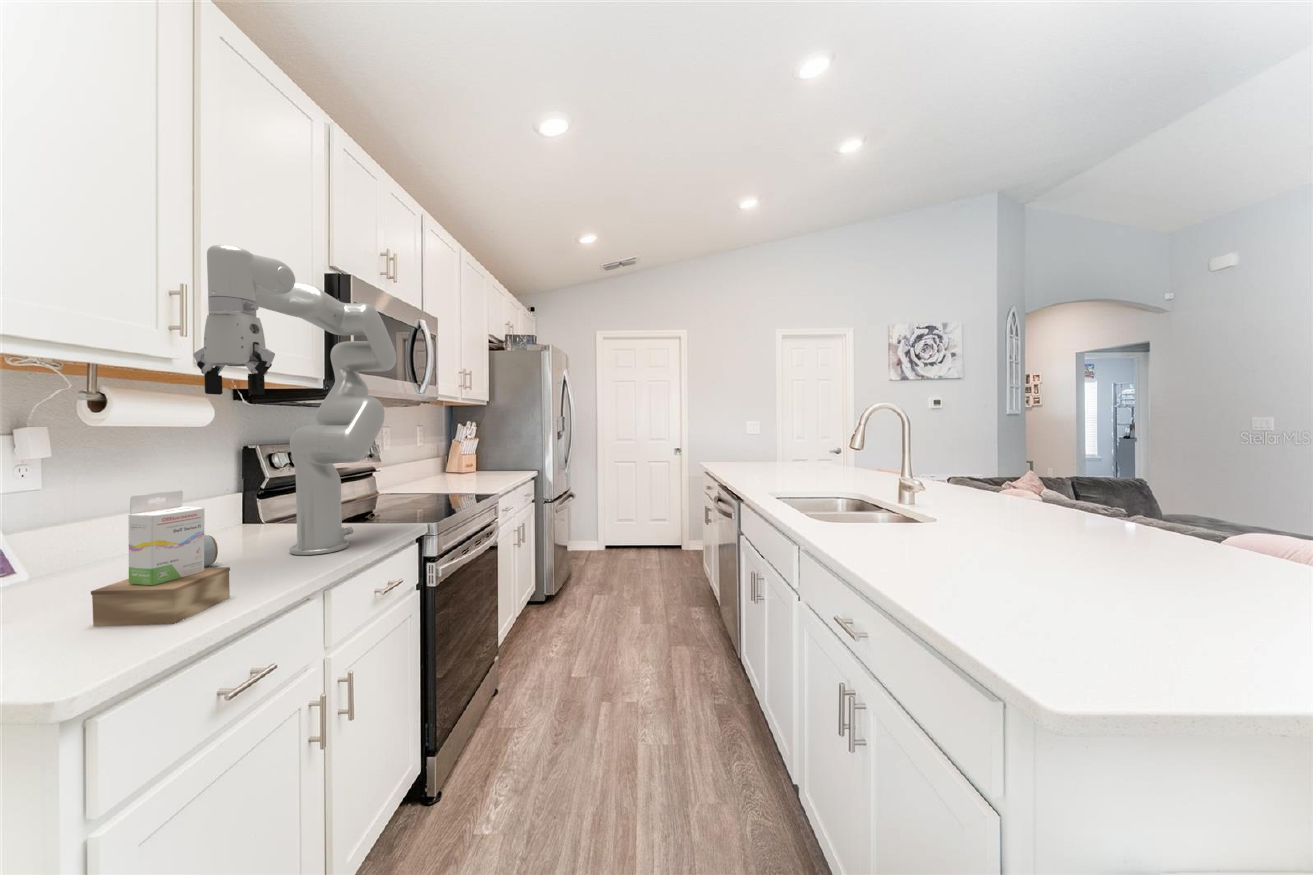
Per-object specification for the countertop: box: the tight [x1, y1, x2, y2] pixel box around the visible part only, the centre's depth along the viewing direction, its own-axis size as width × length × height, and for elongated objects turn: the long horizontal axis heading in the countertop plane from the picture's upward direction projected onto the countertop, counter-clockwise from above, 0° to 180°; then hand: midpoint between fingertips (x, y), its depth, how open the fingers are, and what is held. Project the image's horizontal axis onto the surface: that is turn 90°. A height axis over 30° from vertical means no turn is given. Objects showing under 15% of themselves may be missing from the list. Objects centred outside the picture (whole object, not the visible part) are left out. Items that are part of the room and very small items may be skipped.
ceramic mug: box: [204, 534, 219, 568], centre depth 112 cm, size 11×8×8 cm
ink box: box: [128, 489, 205, 585], centre depth 87 cm, size 9×5×15 cm, turn 171°
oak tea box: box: [90, 566, 231, 628], centre depth 88 cm, size 12×12×6 cm
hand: (235, 394), depth 104 cm, fingers open, 9 cm apart
